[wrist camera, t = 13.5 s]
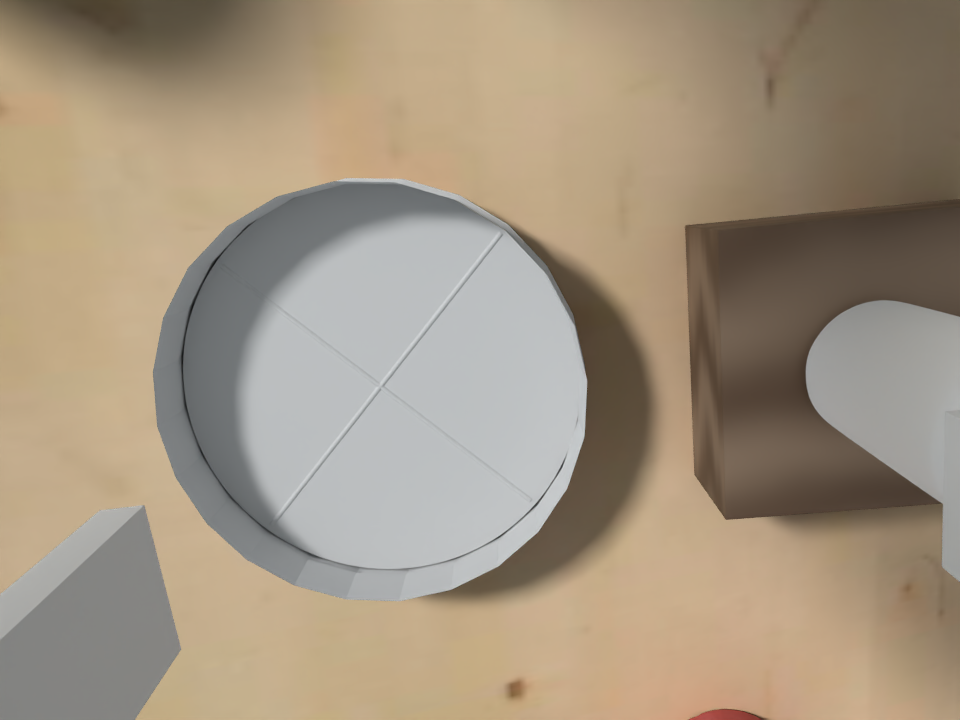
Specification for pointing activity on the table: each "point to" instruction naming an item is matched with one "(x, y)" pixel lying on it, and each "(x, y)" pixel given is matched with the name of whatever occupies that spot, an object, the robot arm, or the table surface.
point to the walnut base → (799, 348)
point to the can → (890, 384)
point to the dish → (371, 389)
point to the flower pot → (725, 715)
